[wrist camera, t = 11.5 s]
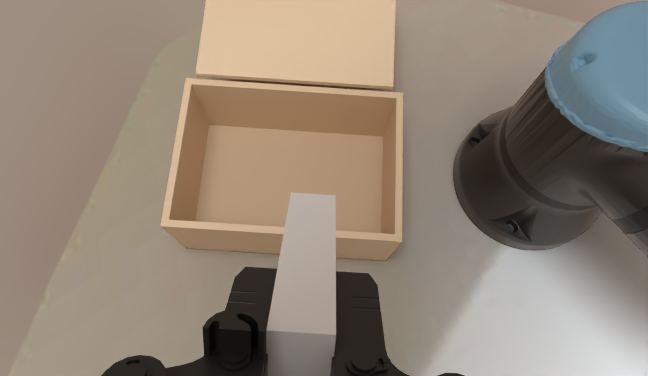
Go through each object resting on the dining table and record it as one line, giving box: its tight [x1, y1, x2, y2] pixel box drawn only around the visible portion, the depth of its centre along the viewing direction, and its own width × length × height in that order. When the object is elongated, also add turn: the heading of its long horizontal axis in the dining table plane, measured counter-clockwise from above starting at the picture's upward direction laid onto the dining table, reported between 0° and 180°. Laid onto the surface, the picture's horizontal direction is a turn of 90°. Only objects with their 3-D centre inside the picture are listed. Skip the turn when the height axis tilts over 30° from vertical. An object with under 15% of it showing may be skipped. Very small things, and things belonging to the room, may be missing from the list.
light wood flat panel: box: [196, 0, 395, 90], centre depth 46 cm, size 18×1×12 cm
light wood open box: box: [161, 78, 403, 261], centre depth 47 cm, size 20×14×9 cm
